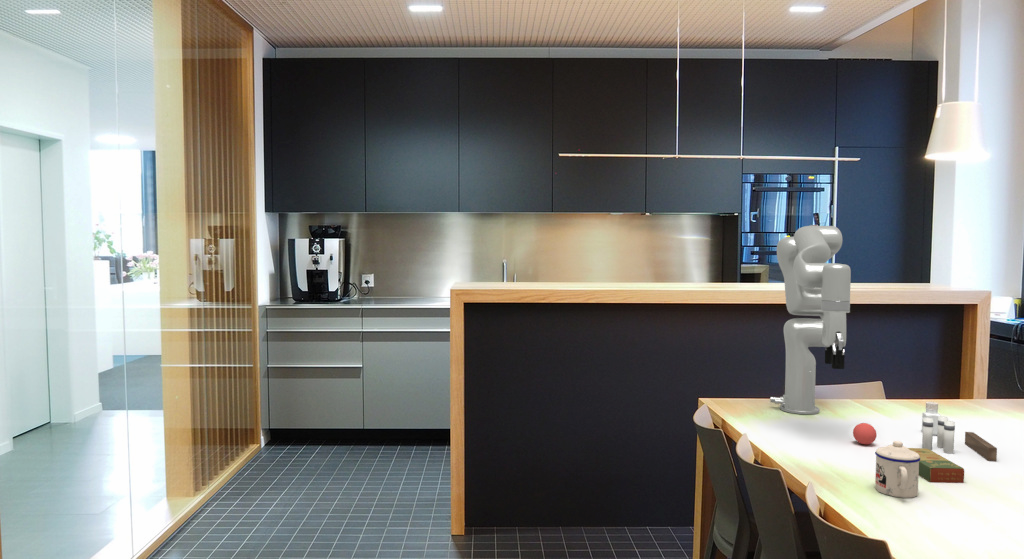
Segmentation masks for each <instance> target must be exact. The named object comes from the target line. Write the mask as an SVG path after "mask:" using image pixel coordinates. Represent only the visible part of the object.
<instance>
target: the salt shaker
mask: <svg viewBox="0 0 1024 559" xmlns="http://www.w3.org/2000/svg"><path fill="white" fill-rule="evenodd" d="M938 410H939V402H935V401H926V402H925V411H924V412H922V414H921V415H922V418H921V420H922V421H921V423H922V424H921V432H922V433H923V418H924V417H927V418H932V419H933V436H935V435H938V417H939V416H941V415H940V414H939V413H938Z"/></svg>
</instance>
